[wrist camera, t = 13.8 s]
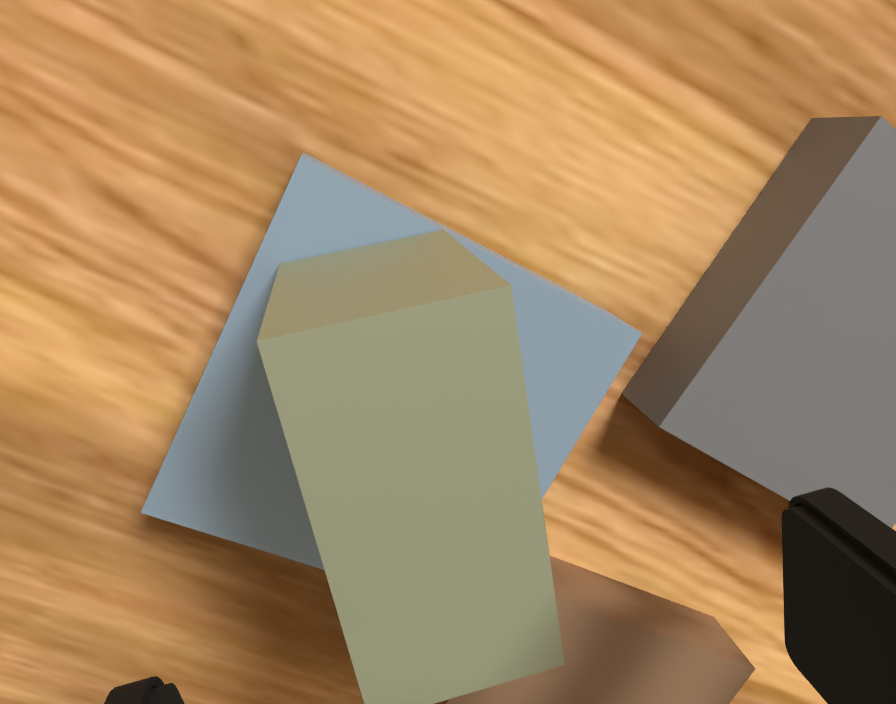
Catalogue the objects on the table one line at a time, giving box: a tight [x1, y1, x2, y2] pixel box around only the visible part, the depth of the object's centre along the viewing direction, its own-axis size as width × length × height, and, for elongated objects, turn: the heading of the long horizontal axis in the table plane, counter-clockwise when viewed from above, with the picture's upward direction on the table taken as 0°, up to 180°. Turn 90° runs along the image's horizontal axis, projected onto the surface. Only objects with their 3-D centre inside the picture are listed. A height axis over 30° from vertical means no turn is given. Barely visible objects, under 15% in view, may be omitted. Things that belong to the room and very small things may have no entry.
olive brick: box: [257, 230, 565, 704], centre depth 14 cm, size 4×8×6 cm, turn 10°
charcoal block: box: [621, 116, 896, 528], centre depth 21 cm, size 10×10×3 cm
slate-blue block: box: [141, 153, 642, 570], centre depth 19 cm, size 10×10×3 cm
